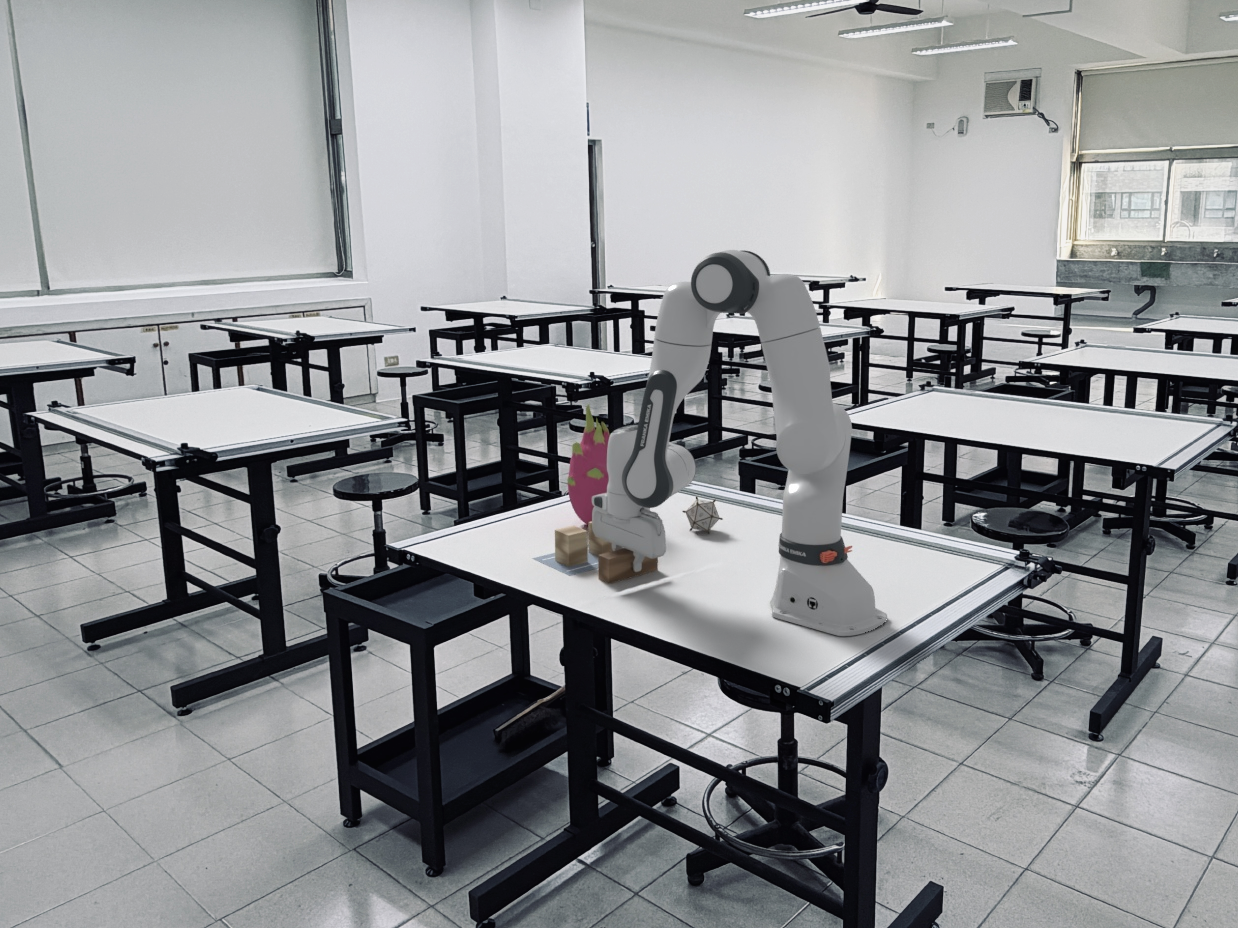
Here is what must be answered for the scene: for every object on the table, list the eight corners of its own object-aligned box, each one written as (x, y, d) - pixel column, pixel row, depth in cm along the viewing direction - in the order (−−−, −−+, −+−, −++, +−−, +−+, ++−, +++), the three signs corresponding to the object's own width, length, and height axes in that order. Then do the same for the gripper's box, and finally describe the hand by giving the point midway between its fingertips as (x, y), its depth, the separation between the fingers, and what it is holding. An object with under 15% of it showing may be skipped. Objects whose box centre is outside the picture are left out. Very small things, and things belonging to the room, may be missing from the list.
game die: (709, 545, 246) (735, 513, 244) (693, 541, 239) (720, 509, 237) (685, 520, 250) (710, 489, 248) (669, 516, 243) (695, 484, 241)
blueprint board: (643, 559, 225) (643, 555, 224) (569, 579, 212) (569, 575, 212) (604, 543, 235) (604, 540, 235) (532, 561, 223) (532, 558, 223)
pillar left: (587, 561, 221) (587, 530, 219) (568, 566, 217) (568, 535, 216) (574, 556, 224) (573, 525, 223) (555, 560, 221) (554, 529, 220)
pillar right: (620, 553, 226) (620, 523, 224) (602, 558, 223) (602, 527, 221) (606, 547, 230) (606, 517, 228) (588, 552, 227) (588, 522, 225)
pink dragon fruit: (587, 540, 237) (586, 413, 230) (553, 527, 248) (551, 405, 240) (646, 526, 248) (646, 404, 241) (611, 513, 258) (610, 396, 251)
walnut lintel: (657, 573, 216) (657, 546, 214) (609, 587, 208) (608, 559, 206) (646, 569, 218) (647, 542, 217) (598, 582, 211) (598, 554, 209)
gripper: (673, 511, 203) (673, 577, 207) (610, 490, 219) (610, 552, 222) (649, 517, 199) (649, 584, 203) (586, 495, 215) (587, 558, 218)
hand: (628, 567), depth 213 cm, fingers closed on walnut lintel, 3 cm apart
